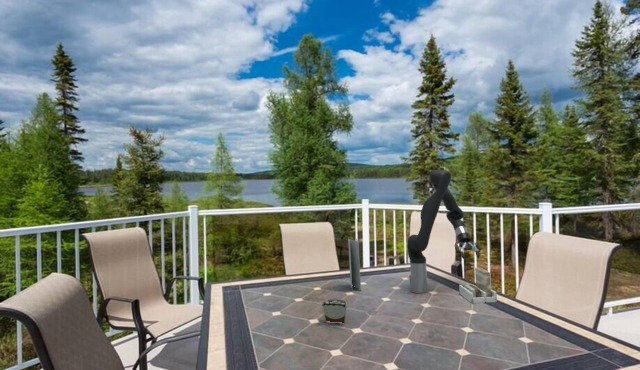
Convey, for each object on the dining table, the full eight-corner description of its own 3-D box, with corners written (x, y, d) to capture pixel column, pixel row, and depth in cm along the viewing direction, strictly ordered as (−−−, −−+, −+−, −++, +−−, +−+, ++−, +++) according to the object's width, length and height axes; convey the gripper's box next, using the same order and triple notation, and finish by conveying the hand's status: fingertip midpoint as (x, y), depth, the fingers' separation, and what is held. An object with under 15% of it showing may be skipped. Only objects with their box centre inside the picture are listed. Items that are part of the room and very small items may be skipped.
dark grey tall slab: (361, 290, 226) (358, 241, 226) (351, 291, 226) (349, 242, 226) (359, 284, 240) (356, 238, 240) (350, 285, 240) (348, 238, 240)
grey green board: (485, 301, 196) (484, 272, 196) (476, 294, 208) (474, 267, 208) (491, 300, 196) (490, 272, 196) (481, 294, 208) (480, 267, 208)
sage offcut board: (472, 301, 197) (471, 289, 197) (464, 295, 207) (464, 284, 207) (476, 301, 197) (475, 289, 197) (468, 295, 207) (467, 284, 207)
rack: (471, 303, 194) (471, 293, 194) (459, 293, 211) (459, 284, 211) (496, 301, 194) (496, 292, 194) (482, 292, 211) (482, 283, 211)
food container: (351, 320, 178) (350, 299, 178) (347, 324, 172) (346, 303, 172) (326, 318, 182) (325, 298, 182) (322, 322, 176) (321, 301, 176)
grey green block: (476, 301, 197) (476, 289, 197) (469, 295, 207) (468, 284, 207) (480, 300, 197) (479, 289, 197) (472, 295, 207) (472, 284, 207)
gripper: (452, 232, 225) (460, 254, 213) (476, 231, 225) (485, 253, 213) (450, 239, 230) (457, 262, 219) (472, 238, 230) (481, 260, 219)
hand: (471, 257), depth 216 cm, fingers open, 8 cm apart
